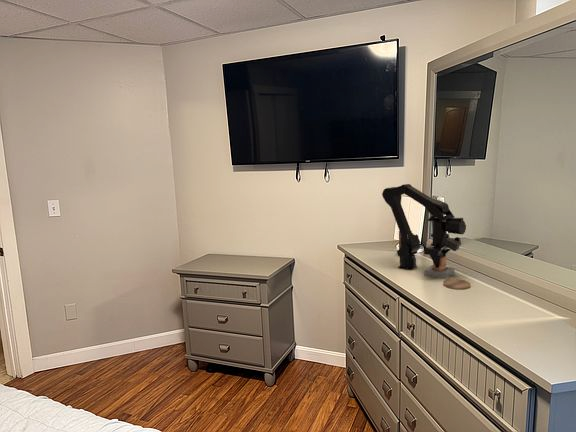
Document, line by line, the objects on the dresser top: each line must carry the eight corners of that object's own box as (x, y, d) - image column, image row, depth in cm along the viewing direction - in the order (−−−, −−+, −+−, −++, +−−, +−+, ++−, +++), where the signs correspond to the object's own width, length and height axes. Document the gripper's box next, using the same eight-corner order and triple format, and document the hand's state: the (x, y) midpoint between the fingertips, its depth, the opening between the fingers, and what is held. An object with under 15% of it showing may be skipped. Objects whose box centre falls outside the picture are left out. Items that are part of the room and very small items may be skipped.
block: (433, 274, 169) (433, 257, 168) (436, 272, 172) (436, 255, 171) (442, 276, 167) (442, 258, 165) (445, 273, 169) (445, 256, 168)
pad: (439, 286, 155) (439, 284, 154) (448, 279, 162) (448, 277, 162) (465, 291, 148) (465, 288, 148) (474, 284, 155) (474, 281, 155)
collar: (424, 275, 169) (424, 269, 169) (433, 269, 176) (433, 264, 176) (446, 279, 163) (446, 273, 162) (454, 273, 170) (454, 267, 169)
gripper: (450, 237, 154) (449, 275, 157) (466, 229, 168) (466, 264, 170) (423, 235, 162) (423, 270, 164) (441, 227, 175) (441, 260, 178)
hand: (439, 266), depth 169 cm, fingers closed on block, 4 cm apart
